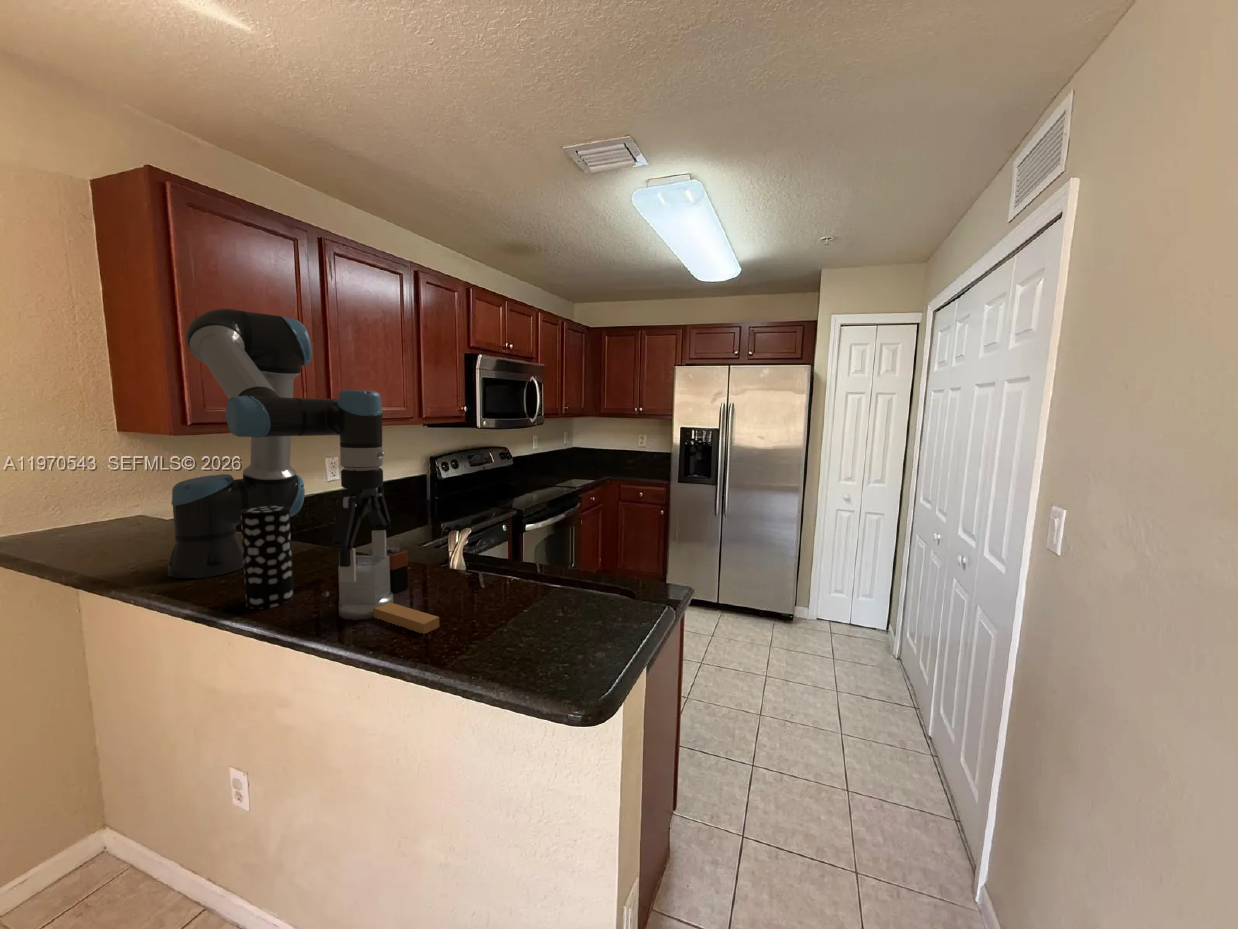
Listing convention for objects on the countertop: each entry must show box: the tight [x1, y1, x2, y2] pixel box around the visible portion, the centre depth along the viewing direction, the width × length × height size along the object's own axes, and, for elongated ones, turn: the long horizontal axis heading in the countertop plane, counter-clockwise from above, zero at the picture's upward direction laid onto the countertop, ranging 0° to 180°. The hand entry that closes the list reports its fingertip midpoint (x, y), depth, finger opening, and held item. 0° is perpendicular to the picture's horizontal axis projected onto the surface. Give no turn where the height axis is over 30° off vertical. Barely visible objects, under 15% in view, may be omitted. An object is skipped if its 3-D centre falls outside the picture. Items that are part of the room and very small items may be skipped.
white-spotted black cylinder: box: [240, 505, 295, 610], centre depth 103 cm, size 8×8×20 cm
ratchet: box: [338, 592, 440, 635], centre depth 98 cm, size 24×10×6 cm, turn 62°
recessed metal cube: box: [337, 554, 390, 605], centre depth 100 cm, size 7×7×8 cm
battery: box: [386, 544, 409, 595], centre depth 113 cm, size 4×7×10 cm, turn 62°
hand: (364, 570), depth 100 cm, fingers open, 13 cm apart
